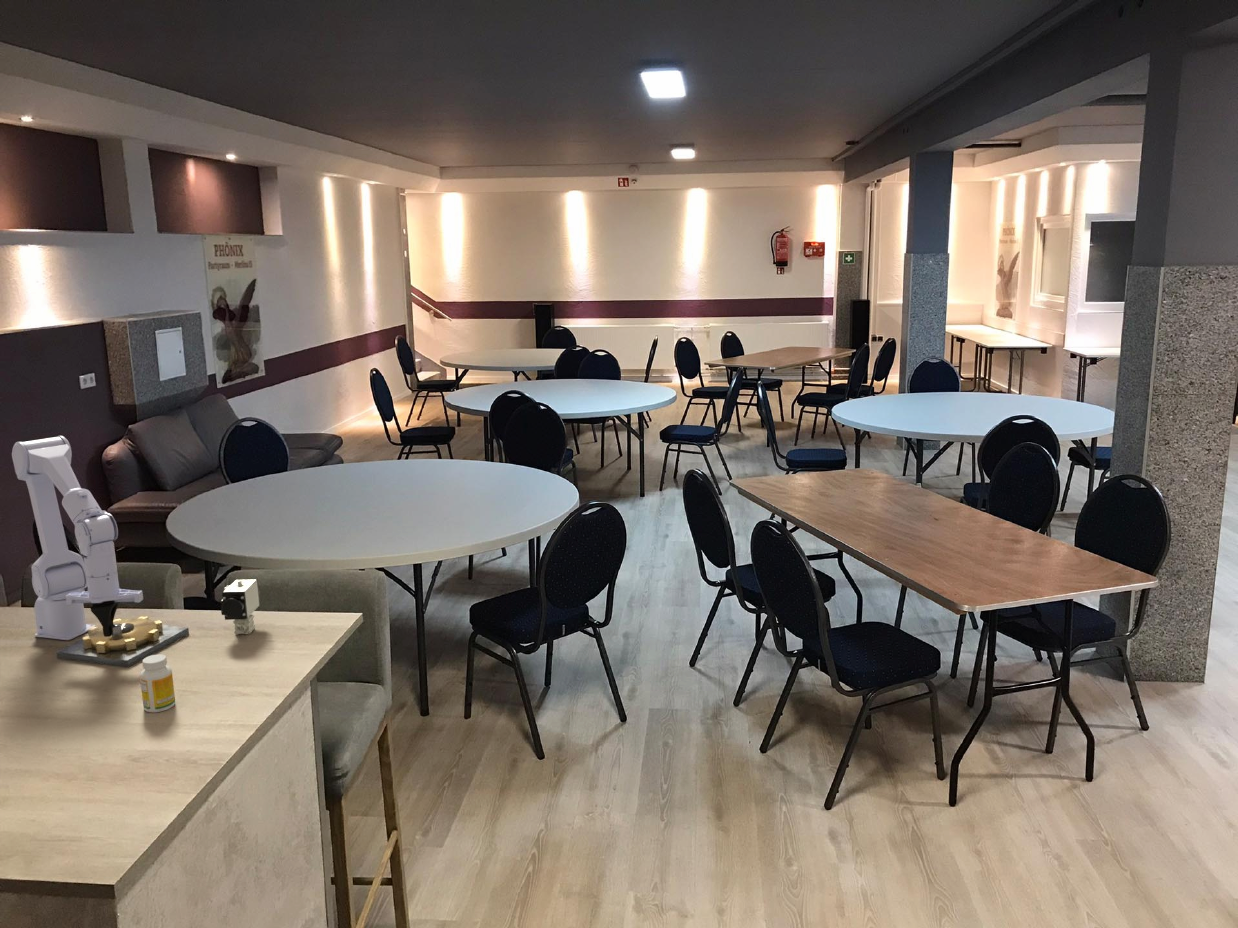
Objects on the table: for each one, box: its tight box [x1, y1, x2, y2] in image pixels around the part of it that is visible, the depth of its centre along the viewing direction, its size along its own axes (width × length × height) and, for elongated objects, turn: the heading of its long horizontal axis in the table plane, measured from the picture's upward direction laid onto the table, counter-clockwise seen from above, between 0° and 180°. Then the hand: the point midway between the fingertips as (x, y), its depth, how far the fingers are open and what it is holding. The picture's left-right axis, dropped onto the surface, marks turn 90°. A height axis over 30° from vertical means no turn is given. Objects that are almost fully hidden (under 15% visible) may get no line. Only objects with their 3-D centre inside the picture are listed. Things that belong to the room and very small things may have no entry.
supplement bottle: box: [139, 653, 176, 713], centre depth 178 cm, size 5×5×10 cm
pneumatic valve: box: [219, 578, 261, 636], centre depth 213 cm, size 6×12×12 cm, turn 2°
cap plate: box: [55, 624, 190, 668], centre depth 207 cm, size 18×18×2 cm
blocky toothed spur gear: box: [82, 616, 163, 653], centre depth 207 cm, size 15×15×5 cm
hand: (109, 634), depth 201 cm, fingers closed, pressing on blocky toothed spur gear
